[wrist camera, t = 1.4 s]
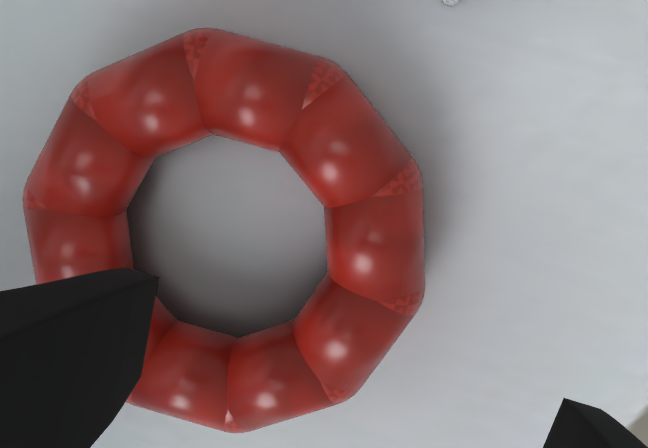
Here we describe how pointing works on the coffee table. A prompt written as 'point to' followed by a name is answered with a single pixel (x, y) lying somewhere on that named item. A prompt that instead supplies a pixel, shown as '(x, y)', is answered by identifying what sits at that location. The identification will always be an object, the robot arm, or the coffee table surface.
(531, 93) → the coffee table surface
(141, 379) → the ring
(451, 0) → the ink box
